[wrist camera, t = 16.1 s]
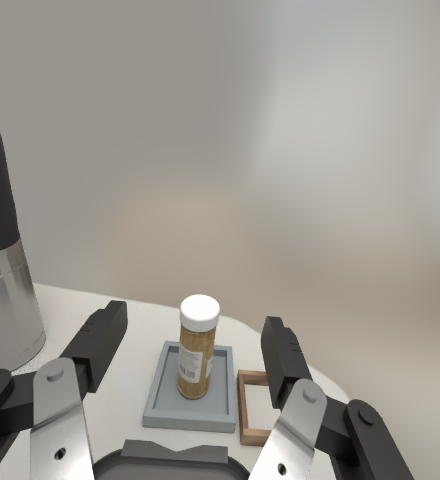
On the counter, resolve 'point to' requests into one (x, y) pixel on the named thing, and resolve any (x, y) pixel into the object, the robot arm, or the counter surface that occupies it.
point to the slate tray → (192, 410)
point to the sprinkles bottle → (196, 344)
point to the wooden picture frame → (247, 435)
